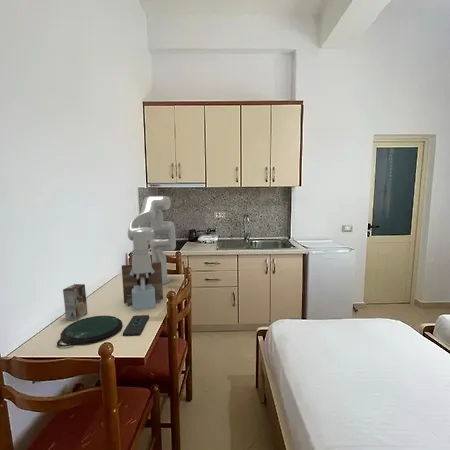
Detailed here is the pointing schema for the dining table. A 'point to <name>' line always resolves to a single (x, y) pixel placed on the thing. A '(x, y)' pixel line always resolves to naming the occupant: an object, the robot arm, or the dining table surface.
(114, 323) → the dark green flat disc
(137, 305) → the block with top knob
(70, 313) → the coffee box
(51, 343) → the dining table surface
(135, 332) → the smart home device
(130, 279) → the wall board
